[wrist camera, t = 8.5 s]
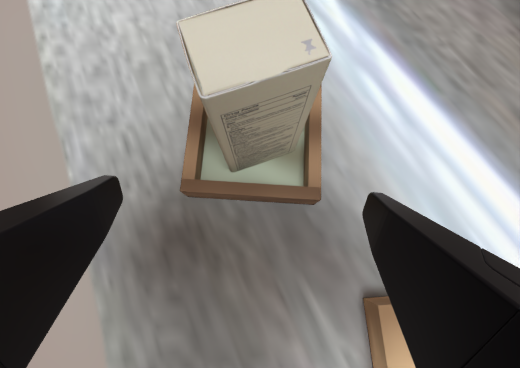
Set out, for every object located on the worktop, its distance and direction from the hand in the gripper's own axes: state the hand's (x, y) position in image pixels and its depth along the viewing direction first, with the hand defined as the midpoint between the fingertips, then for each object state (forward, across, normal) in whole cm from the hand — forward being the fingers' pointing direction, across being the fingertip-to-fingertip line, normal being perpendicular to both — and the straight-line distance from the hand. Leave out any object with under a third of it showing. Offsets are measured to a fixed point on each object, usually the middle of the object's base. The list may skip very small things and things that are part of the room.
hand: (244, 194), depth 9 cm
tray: (+14, 0, +4) cm, 15 cm away
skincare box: (+14, 0, +4) cm, 15 cm away
